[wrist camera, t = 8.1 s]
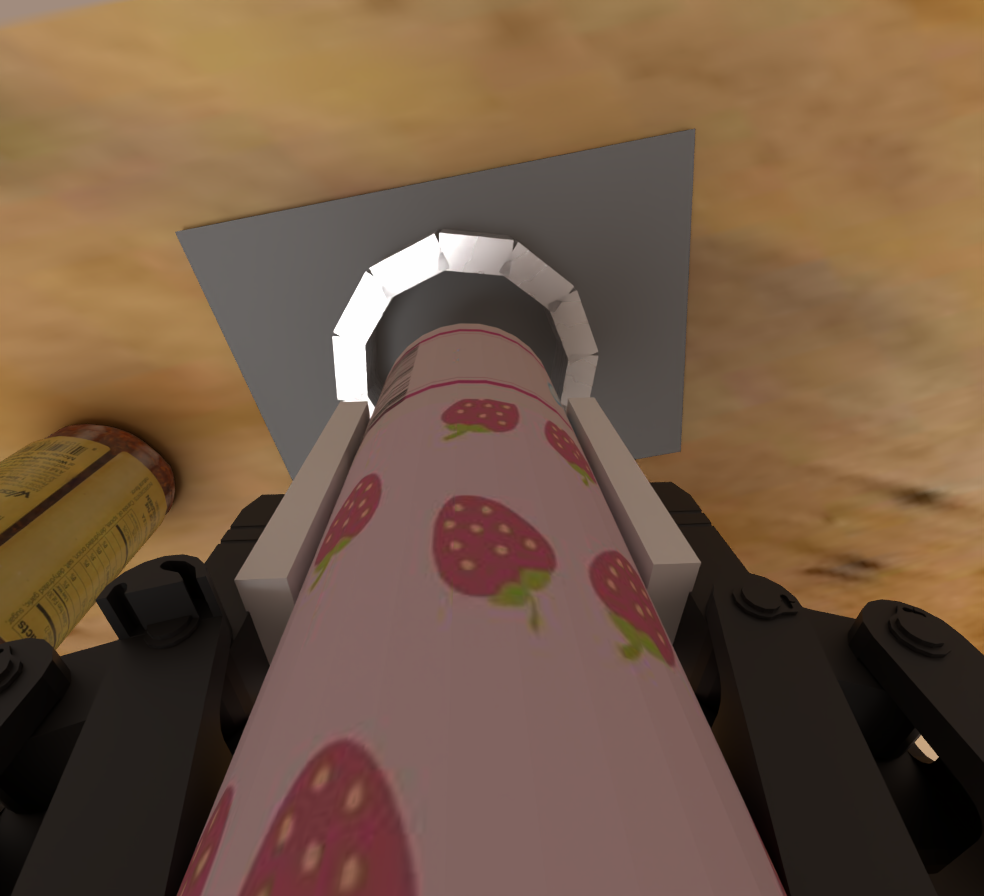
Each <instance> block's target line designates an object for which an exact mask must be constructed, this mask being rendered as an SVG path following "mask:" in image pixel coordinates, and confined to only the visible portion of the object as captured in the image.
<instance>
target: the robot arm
mask: <svg viewBox="0 0 984 896" xmlns="http://www.w3.org/2000/svg"><path fill="white" fill-rule="evenodd" d="M566 415H567V417H568V420H569V422H570V424H571V426H572V428H573V430H574V433H575V435H576V437H577V439H578V441H579V443H580V446H581V448H582V450H583V452H584V454H585V457H586V459H587V461H588V463H589V465H590V467H591V470H592V472H593V474H594V476H595V478H596V480H597V483H598V485H599V487H600V489H601V491H602V494H603V496H604V498H605V500H606V502H607V504H608V507H609V509H610V511H611V513H612V515H613V517H614V520H615V522H616V524H617V526H618V528H619V530H620V533H621V535H622V537H623V539H624V541H625V544H626V546H627V548H628V550H629V552H630V554H631V557H632V559H633V561H634V563H635V565H636V567H637V570H638V572H639V574H640V576H641V578H642V581H643V583H644V585H645V587H646V589H647V591H648V594H649V596H650V598H651V600H652V602H653V604H654V607H655V609H656V611H657V613H658V615H659V618H660V620H661V622H662V624H663V626H664V628H665V631H666V633H667V635H668V637H669V639H670V641H671V644H672V646H673V648H674V650H675V652H676V655H677V657H678V659H679V661H680V663H681V665H682V668H683V670H684V672H685V674H686V676H687V678H688V681H689V683H690V685H691V687H692V689H693V691H694V694H695V696H696V698H697V700H698V702H699V705H700V707H701V709H702V711H703V713H704V715H705V718H706V720H707V722H708V724H709V726H710V728H711V731H712V733H713V735H714V737H715V739H716V742H717V744H718V746H719V748H720V750H721V752H722V755H723V757H724V759H725V761H726V763H727V765H728V768H729V770H730V772H731V774H732V776H733V779H734V781H735V783H736V785H737V787H738V789H739V792H740V794H741V796H742V798H743V800H744V802H745V805H746V807H747V809H748V811H749V813H750V816H751V818H752V820H753V822H754V824H755V826H756V829H757V831H758V833H759V835H760V837H761V839H762V842H763V844H764V846H765V848H766V850H767V852H768V855H769V857H770V859H771V861H772V863H773V866H774V868H775V870H776V872H777V874H778V876H779V879H780V881H781V883H782V885H783V887H784V890H785V892H786V894H787V896H984V655H983V654H982V653H981V652H980V651H978V650H977V649H976V648H975V647H974V646H973V645H972V644H971V643H970V642H969V641H968V640H967V639H965V638H964V637H963V636H962V635H961V634H960V633H958V632H957V631H956V630H955V629H953V628H952V627H951V626H949V625H948V624H947V623H945V622H944V621H943V620H941V619H939V618H937V617H935V616H933V615H932V614H930V613H928V612H926V611H924V610H922V609H920V608H917V607H914V606H911V605H908V604H905V603H902V602H898V601H890V600H883V599H882V600H876V601H871V602H868V603H867V604H866V605H865V607H864V608H863V609H862V610H861V612H860V613H859V615H858V617H857V618H856V619H853V618H848V617H844V616H839V615H834V614H829V613H825V612H820V611H815V610H810V609H807V608H803V607H802V606H801V605H800V603H799V602H798V600H797V599H796V598H795V597H794V596H793V595H792V594H791V593H789V592H788V591H787V590H786V589H784V588H783V587H782V586H781V585H779V584H777V583H775V582H773V581H771V580H769V579H767V578H765V577H762V576H758V575H755V574H751V573H749V572H748V571H747V570H746V568H745V567H744V566H743V564H742V563H741V562H740V560H739V559H738V558H737V556H736V555H735V554H734V552H733V551H732V550H731V548H730V547H729V546H728V544H727V543H726V542H725V540H724V539H723V538H722V536H721V535H720V534H719V532H718V531H717V530H716V529H715V527H714V526H711V522H710V521H709V519H708V518H707V517H706V515H705V514H704V513H702V512H701V511H702V510H701V509H700V507H699V506H698V505H697V503H696V502H695V501H694V499H693V498H692V497H691V495H690V494H688V493H687V492H685V491H684V490H682V489H681V488H679V487H678V486H676V485H675V484H674V483H672V482H655V483H649V481H648V480H647V478H646V477H645V475H644V474H643V472H642V471H641V469H640V467H639V466H638V464H637V463H636V461H635V460H634V458H633V457H632V455H631V453H630V452H629V450H628V449H627V447H626V446H625V444H624V443H623V441H622V440H621V438H620V436H619V435H618V433H617V432H616V430H615V429H614V427H613V426H612V424H611V423H610V421H609V419H608V418H607V416H606V415H605V413H604V412H603V410H602V409H601V407H600V406H599V404H598V402H597V401H596V399H595V398H594V397H583V398H568V401H567V411H566ZM369 421H370V412H369V405H368V401H354V402H340V403H339V405H338V406H337V408H336V410H335V411H334V413H333V415H332V416H331V418H330V420H329V421H328V423H327V425H326V426H325V428H324V430H323V431H322V433H321V435H320V437H319V438H318V440H317V442H316V443H315V445H314V447H313V448H312V450H311V452H310V453H309V455H308V457H307V458H306V460H305V462H304V463H303V465H302V467H301V468H300V470H299V472H298V474H297V475H296V477H295V479H294V480H293V482H292V484H291V485H290V487H289V489H288V490H287V492H286V494H276V495H261V496H260V497H259V498H257V499H256V500H255V501H253V502H252V503H250V504H249V505H248V506H246V507H245V508H244V509H242V511H241V512H240V514H239V515H238V517H237V518H236V519H235V521H234V522H233V524H232V525H231V529H230V530H228V531H227V532H226V534H225V535H224V536H223V538H222V539H221V544H218V545H217V546H216V548H215V549H214V551H213V552H212V554H211V555H210V556H209V558H208V559H207V561H206V562H205V564H204V563H203V562H202V561H201V560H200V559H199V558H197V557H193V556H188V555H184V554H183V555H171V556H164V557H160V558H157V559H154V560H150V561H147V562H144V563H142V564H140V565H138V566H136V567H134V568H132V569H130V570H128V571H126V572H124V573H123V574H121V575H120V576H119V577H117V578H116V579H115V580H113V581H112V582H111V583H109V584H108V585H107V586H106V587H105V588H104V589H103V591H102V592H101V593H100V594H99V596H98V597H97V598H96V599H95V601H96V602H97V604H98V605H99V607H100V609H101V610H102V612H103V614H104V615H105V617H106V618H107V620H108V622H109V623H110V625H111V626H112V628H113V630H114V631H115V633H116V635H117V636H118V638H119V640H116V641H113V642H110V643H106V644H103V645H99V646H96V647H92V648H88V649H85V650H81V651H78V652H74V653H71V654H67V655H63V656H59V655H58V653H57V652H56V650H55V649H54V648H53V646H51V645H50V644H49V643H48V642H47V641H46V640H44V639H36V638H24V639H19V640H14V641H9V642H5V643H3V644H0V896H177V893H178V891H179V888H180V886H181V883H182V881H183V879H184V876H185V874H186V871H187V869H188V866H189V864H190V861H191V859H192V856H193V854H194V852H195V849H196V847H197V844H198V842H199V839H200V837H201V834H202V832H203V829H204V827H205V824H206V822H207V820H208V817H209V815H210V812H211V810H212V807H213V805H214V802H215V800H216V797H217V795H218V792H219V790H220V788H221V785H222V783H223V780H224V778H225V775H226V773H227V770H228V768H229V765H230V763H231V760H232V758H233V756H234V753H235V751H236V748H237V746H238V743H239V741H240V738H241V736H242V733H243V731H244V729H245V726H246V724H247V721H248V719H249V716H250V714H251V711H252V709H253V706H254V704H255V701H256V699H257V697H258V694H259V692H260V689H261V687H262V684H263V682H264V679H265V677H266V674H267V672H268V669H269V667H270V665H271V662H272V660H273V657H274V655H275V652H276V650H277V647H278V645H279V642H280V640H281V637H282V635H283V633H284V630H285V628H286V625H287V623H288V620H289V618H290V615H291V613H292V610H293V608H294V606H295V603H296V601H297V598H298V596H299V593H300V591H301V588H302V586H303V583H304V581H305V578H306V576H307V574H308V571H309V569H310V566H311V564H312V561H313V559H314V556H315V554H316V551H317V549H318V546H319V544H320V542H321V539H322V537H323V534H324V532H325V529H326V527H327V524H328V522H329V519H330V517H331V514H332V512H333V510H334V507H335V505H336V502H337V500H338V497H339V495H340V492H341V490H342V487H343V485H344V483H345V480H346V478H347V475H348V473H349V470H350V468H351V465H352V463H353V460H354V458H355V455H356V453H357V451H358V448H359V446H360V443H361V441H362V438H363V436H364V433H365V431H366V428H367V426H368V423H369ZM920 735H922V736H923V738H924V739H925V740H926V741H927V743H928V744H929V745H930V746H931V747H932V749H933V750H934V751H935V752H936V754H937V755H938V756H939V758H938V759H937V760H936V761H933V760H932V759H930V758H928V757H927V756H926V755H925V754H924V753H923V752H922V751H921V750H920V749H919V748H918V747H917V745H916V744H915V743H914V742H915V741H916V740H917V739H918V738H919V737H920Z"/></svg>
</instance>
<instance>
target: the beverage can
mask: <svg viewBox="0 0 984 896" xmlns="http://www.w3.org/2000/svg"><path fill="white" fill-rule="evenodd" d="M177 896H787V894H786V892H785V890H784V887H783V885H782V883H781V881H780V879H779V876H778V874H777V872H776V870H775V868H774V866H773V863H772V861H771V859H770V857H769V855H768V852H767V850H766V848H765V846H764V844H763V842H762V839H761V837H760V835H759V833H758V831H757V829H756V826H755V824H754V822H753V820H752V818H751V816H750V813H749V811H748V809H747V807H746V805H745V802H744V800H743V798H742V796H741V794H740V792H739V789H738V787H737V785H736V783H735V781H734V779H733V776H732V774H731V772H730V770H729V768H728V765H727V763H726V761H725V759H724V757H723V755H722V752H721V750H720V748H719V746H718V744H717V742H716V739H715V737H714V735H713V733H712V731H711V728H710V726H709V724H708V722H707V720H706V718H705V715H704V713H703V711H702V709H701V707H700V705H699V702H698V700H697V698H696V696H695V694H694V691H693V689H692V687H691V685H690V683H689V681H688V678H687V676H686V674H685V672H684V670H683V668H682V665H681V663H680V661H679V659H678V657H677V655H676V652H675V650H674V648H673V646H672V644H671V641H670V639H669V637H668V635H667V633H666V631H665V628H664V626H663V624H662V622H661V620H660V618H659V615H658V613H657V611H656V609H655V607H654V604H653V602H652V600H651V598H650V596H649V594H648V591H647V589H646V587H645V585H644V583H643V581H642V578H641V576H640V574H639V572H638V570H637V567H636V565H635V563H634V561H633V559H632V557H631V554H630V552H629V550H628V548H627V546H626V544H625V541H624V539H623V537H622V535H621V533H620V530H619V528H618V526H617V524H616V522H615V520H614V517H613V515H612V513H611V511H610V509H609V507H608V504H607V502H606V500H605V498H604V496H603V494H602V491H601V489H600V487H599V485H598V483H597V480H596V478H595V476H594V474H593V472H592V470H591V467H590V465H589V463H588V461H587V459H586V457H585V454H584V452H583V450H582V448H581V446H580V443H579V441H578V439H577V437H576V435H575V433H574V430H573V428H572V426H571V424H570V422H569V420H568V417H567V415H566V413H565V411H564V409H563V406H562V404H561V402H560V400H559V398H558V396H557V393H556V391H555V389H554V387H553V385H552V383H551V380H550V378H549V376H548V374H547V372H546V370H545V368H544V366H543V364H542V362H541V360H540V359H539V358H538V357H537V356H536V354H535V353H534V352H533V351H532V350H531V348H530V347H529V346H527V345H526V344H525V343H523V342H522V341H521V340H520V339H518V338H517V337H516V336H514V335H512V334H510V333H507V332H505V331H503V330H501V329H499V328H496V327H491V326H487V325H482V324H463V323H460V324H455V325H449V326H444V327H440V328H438V329H436V330H433V331H431V332H429V333H426V334H424V335H422V336H421V337H420V338H418V339H417V340H416V341H414V342H413V343H411V344H410V345H409V346H408V347H407V348H406V349H405V350H404V351H403V352H402V354H401V355H400V356H399V357H398V358H397V359H396V361H395V363H394V365H393V367H392V369H391V371H390V373H389V374H388V377H387V379H386V382H385V384H384V387H383V389H382V391H381V394H380V396H379V399H378V401H377V404H376V406H375V409H374V411H373V414H372V416H371V419H370V421H369V423H368V426H367V428H366V431H365V433H364V436H363V438H362V441H361V443H360V446H359V448H358V451H357V453H356V455H355V458H354V460H353V463H352V465H351V468H350V470H349V473H348V475H347V478H346V480H345V483H344V485H343V487H342V490H341V492H340V495H339V497H338V500H337V502H336V505H335V507H334V510H333V512H332V514H331V517H330V519H329V522H328V524H327V527H326V529H325V532H324V534H323V537H322V539H321V542H320V544H319V546H318V549H317V551H316V554H315V556H314V559H313V561H312V564H311V566H310V569H309V571H308V574H307V576H306V578H305V581H304V583H303V586H302V588H301V591H300V593H299V596H298V598H297V601H296V603H295V606H294V608H293V610H292V613H291V615H290V618H289V620H288V623H287V625H286V628H285V630H284V633H283V635H282V637H281V640H280V642H279V645H278V647H277V650H276V652H275V655H274V657H273V660H272V662H271V665H270V667H269V669H268V672H267V674H266V677H265V679H264V682H263V684H262V687H261V689H260V692H259V694H258V697H257V699H256V701H255V704H254V706H253V709H252V711H251V714H250V716H249V719H248V721H247V724H246V726H245V729H244V731H243V733H242V736H241V738H240V741H239V743H238V746H237V748H236V751H235V753H234V756H233V758H232V760H231V763H230V765H229V768H228V770H227V773H226V775H225V778H224V780H223V783H222V785H221V788H220V790H219V792H218V795H217V797H216V800H215V802H214V805H213V807H212V810H211V812H210V815H209V817H208V820H207V822H206V824H205V827H204V829H203V832H202V834H201V837H200V839H199V842H198V844H197V847H196V849H195V852H194V854H193V856H192V859H191V861H190V864H189V866H188V869H187V871H186V874H185V876H184V879H183V881H182V883H181V886H180V888H179V891H178V893H177Z"/></svg>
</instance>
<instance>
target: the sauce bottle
mask: <svg viewBox="0 0 984 896" xmlns="http://www.w3.org/2000/svg"><path fill="white" fill-rule="evenodd" d="M174 493H175V479H174V476H173V472H172V469H171V466H170V465H169V464H168V463H167V462H166V461H165V460H164V459H163V458H162V457H161V456H160V455H159V454H158V453H157V452H156V451H155V450H154V449H152V448H151V447H149V446H148V445H147V444H146V443H145V442H144V441H142V440H141V439H139V438H138V437H136V436H134V435H133V434H131V433H129V432H126V431H123V430H121V429H117V428H115V427H108V426H105V425H94V424H82V425H78V424H76V425H72V426H66V427H64V428H62V429H60V430H58V431H57V432H55V433H53V434H51V435H50V436H48V437H47V438H44V439H42V440H38V441H35V442H33V443H31V444H29V445H27V446H25V447H24V448H22V449H21V450H19V451H17V452H16V453H14V454H12V455H11V456H9V457H8V458H6V459H4V460H3V461H1V462H0V644H3V643H5V642H9V641H14V640H19V639H24V638H36V639H44V640H46V641H47V642H48V643H49V644H50V645H51V646H53V648H54V649H55V650H56V649H57V648H58V647H59V645H60V644H61V643H62V642H63V641H64V639H65V638H66V637H67V636H68V635H69V633H70V632H71V631H72V630H73V629H74V628H75V626H76V625H77V624H78V623H79V622H80V620H81V619H82V618H83V617H84V616H85V614H86V613H87V612H88V611H89V610H90V608H91V607H92V606H93V605H94V604H95V602H96V601H95V599H96V598H97V597H98V596H99V594H100V593H101V592H102V591H103V589H104V588H105V587H106V586H107V585H108V584H109V583H111V582H112V581H113V580H115V578H116V577H117V576H118V575H119V573H120V572H121V571H122V570H123V568H124V567H125V566H126V565H127V564H128V562H129V561H130V560H131V559H132V558H133V557H134V555H135V554H136V553H137V552H138V551H139V550H140V548H141V547H142V546H143V545H144V544H145V543H146V541H147V540H148V539H149V538H150V537H151V535H152V534H153V533H154V532H155V531H156V529H157V528H158V527H159V526H160V524H161V523H162V521H163V519H164V517H165V515H166V514H167V513H168V512H169V510H170V508H171V506H172V503H173V499H174Z"/></svg>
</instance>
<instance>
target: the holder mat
mask: <svg viewBox="0 0 984 896" xmlns="http://www.w3.org/2000/svg"><path fill="white" fill-rule="evenodd" d="M694 147H695V129H691V130H686V131H680V132H675V133H670V134H665V135H660V136H655V137H650V138H645V139H640V140H635V141H630V142H625V143H620V144H615V145H610V146H605V147H600V148H595V149H590V150H585V151H580V152H575V153H570V154H565V155H560V156H555V157H550V158H545V159H540V160H535V161H530V162H525V163H520V164H515V165H510V166H505V167H499V168H494V169H489V170H484V171H479V172H474V173H469V174H464V175H459V176H454V177H449V178H444V179H439V180H434V181H429V182H424V183H419V184H414V185H409V186H404V187H399V188H394V189H389V190H384V191H379V192H374V193H369V194H364V195H359V196H354V197H349V198H344V199H339V200H334V201H329V202H323V203H318V204H313V205H308V206H303V207H298V208H293V209H288V210H283V211H278V212H273V213H268V214H263V215H258V216H253V217H248V218H243V219H238V220H233V221H228V222H223V223H218V224H213V225H208V226H203V227H198V228H193V229H188V230H183V231H178V232H175V233H176V235H177V237H178V239H179V241H180V243H181V246H182V248H183V250H184V252H185V254H186V256H187V258H188V260H189V263H190V265H191V267H192V269H193V271H194V273H195V275H196V277H197V279H198V282H199V284H200V286H201V288H202V290H203V292H204V294H205V296H206V298H207V301H208V303H209V305H210V307H211V309H212V311H213V313H214V315H215V317H216V320H217V322H218V324H219V326H220V328H221V330H222V332H223V334H224V337H225V339H226V341H227V343H228V345H229V347H230V349H231V351H232V353H233V356H234V358H235V360H236V362H237V364H238V366H239V368H240V370H241V372H242V375H243V377H244V379H245V381H246V383H247V385H248V387H249V389H250V391H251V394H252V396H253V398H254V400H255V402H256V404H257V406H258V408H259V411H260V413H261V415H262V417H263V419H264V421H265V423H266V425H267V427H268V430H269V432H270V434H271V436H272V438H273V440H274V442H275V444H276V446H277V449H278V451H279V453H280V455H281V457H282V459H283V461H284V463H285V465H286V468H287V470H288V472H289V474H290V476H291V478H292V480H294V479H295V477H296V475H297V474H298V472H299V470H300V468H301V467H302V465H303V463H304V462H305V460H306V458H307V457H308V455H309V453H310V452H311V450H312V448H313V447H314V445H315V443H316V442H317V440H318V438H319V437H320V435H321V433H322V431H323V430H324V428H325V426H326V425H327V423H328V421H329V420H330V418H331V416H332V415H333V413H334V411H335V410H336V408H337V406H338V405H339V403H340V401H341V400H338V399H337V386H336V374H335V362H334V349H333V337H332V336H333V335H334V334H335V332H333V331H334V330H335V328H336V326H337V324H338V322H339V320H340V318H341V317H342V315H343V313H344V311H345V309H346V307H347V305H348V304H349V302H350V300H351V298H352V296H353V294H354V292H355V291H356V289H357V287H358V285H359V283H360V281H361V280H362V278H363V276H364V274H365V272H366V271H367V270H368V269H370V267H371V266H373V265H374V264H375V263H377V262H378V261H379V260H381V259H383V258H385V257H386V256H388V255H390V254H392V253H394V252H396V251H398V250H400V249H402V248H404V247H405V246H407V245H409V244H411V243H413V242H415V241H417V240H419V239H421V238H422V237H424V236H426V235H428V234H430V233H432V232H434V231H436V230H438V231H439V233H440V231H441V230H442V229H451V230H462V231H472V232H482V233H492V234H502V235H508V236H509V237H513V238H514V239H515V240H516V241H518V242H519V243H520V244H522V245H523V246H524V247H525V248H527V249H528V250H529V251H530V252H532V253H533V254H534V255H535V256H537V257H538V258H539V259H541V260H542V261H543V262H544V263H546V264H547V265H548V266H549V267H551V268H552V269H553V270H554V271H556V272H557V273H558V274H559V275H561V276H562V277H563V278H565V279H566V280H567V281H568V282H570V283H571V284H572V285H573V286H574V288H575V289H576V290H577V292H578V294H579V297H580V300H581V303H582V306H583V309H584V312H585V315H586V317H587V320H588V323H589V326H590V329H591V332H592V335H593V338H594V340H595V343H596V346H597V349H598V352H596V353H597V355H598V361H597V366H596V370H595V375H594V380H593V385H592V389H591V394H590V397H594V398H595V399H596V401H597V402H598V404H599V406H600V407H601V409H602V410H603V412H604V413H605V415H606V416H607V418H608V419H609V421H610V423H611V424H612V426H613V427H614V429H615V430H616V432H617V433H618V435H619V436H620V438H621V440H622V441H623V443H624V444H625V446H626V447H627V449H628V450H629V452H630V453H631V455H632V457H633V458H634V460H635V459H640V458H646V457H652V456H657V455H663V454H669V453H675V452H680V451H681V433H682V411H683V389H684V367H685V345H686V323H687V301H688V279H689V257H690V235H691V213H692V191H693V169H694ZM460 323H463V324H482V325H487V326H491V327H496V328H499V329H501V330H503V331H505V332H507V333H510V334H512V335H514V336H516V337H517V338H518V339H520V340H521V341H522V342H523V343H525V344H526V345H527V346H529V347H530V348H531V350H532V351H533V352H534V353H535V354H536V356H537V357H538V358H539V359H540V360H541V362H542V364H543V366H544V368H545V370H546V372H547V374H548V376H549V378H550V380H551V375H552V369H553V363H554V357H555V350H556V344H557V341H556V338H555V336H554V333H553V331H552V328H551V325H550V323H549V320H548V318H547V315H546V313H545V310H544V308H543V305H542V304H541V303H539V302H538V301H537V300H535V299H534V298H533V297H531V296H530V295H529V294H527V293H526V292H525V291H523V290H522V289H521V288H519V287H518V286H517V285H515V284H514V283H513V282H511V281H510V280H509V279H507V278H506V277H505V276H502V275H491V274H480V273H469V272H457V271H446V270H444V271H442V272H440V273H438V274H436V275H434V276H432V277H431V278H429V279H427V280H425V281H423V282H421V283H419V284H417V285H415V286H413V287H411V288H409V289H407V290H405V291H403V292H401V293H399V294H397V295H395V296H394V298H393V300H392V301H391V303H390V305H389V306H388V308H387V310H386V312H385V313H384V315H383V317H382V319H381V320H380V322H379V324H378V325H377V327H376V343H377V373H378V377H379V378H380V380H381V381H382V383H383V384H385V382H386V379H387V377H388V374H389V373H390V371H391V369H392V367H393V365H394V363H395V361H396V359H397V358H398V357H399V356H400V355H401V354H402V352H403V351H404V350H405V349H406V348H407V347H408V346H409V345H410V344H411V343H413V342H414V341H416V340H417V339H418V338H420V337H421V336H422V335H424V334H426V333H429V332H431V331H433V330H436V329H438V328H440V327H444V326H449V325H455V324H460Z"/></svg>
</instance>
